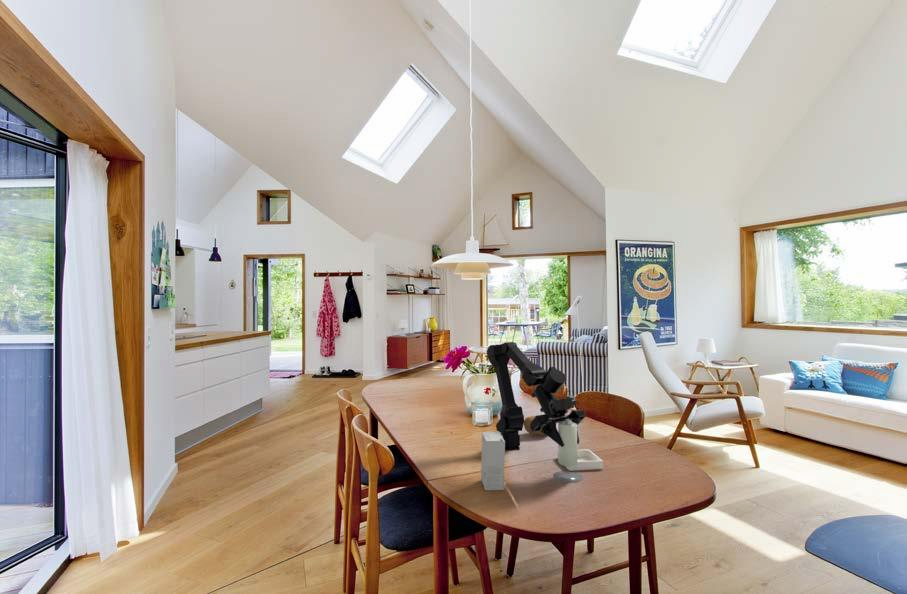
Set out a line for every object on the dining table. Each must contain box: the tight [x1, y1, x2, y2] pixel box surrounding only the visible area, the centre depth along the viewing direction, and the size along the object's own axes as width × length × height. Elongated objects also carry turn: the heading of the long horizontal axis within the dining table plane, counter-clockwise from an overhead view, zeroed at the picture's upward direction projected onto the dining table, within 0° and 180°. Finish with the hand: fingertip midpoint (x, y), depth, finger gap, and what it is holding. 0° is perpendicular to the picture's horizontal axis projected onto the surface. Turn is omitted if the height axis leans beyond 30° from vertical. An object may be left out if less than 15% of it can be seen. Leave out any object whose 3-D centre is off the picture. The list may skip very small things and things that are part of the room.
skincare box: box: [480, 431, 506, 491], centre depth 133 cm, size 8×6×15 cm
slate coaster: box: [552, 470, 584, 484], centre depth 138 cm, size 9×9×1 cm
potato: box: [523, 415, 546, 437], centre depth 183 cm, size 10×14×8 cm
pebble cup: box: [557, 419, 578, 467], centre depth 138 cm, size 6×6×14 cm
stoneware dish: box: [556, 448, 604, 472], centre depth 149 cm, size 11×11×3 cm
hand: (570, 444), depth 137 cm, fingers closed on pebble cup, 6 cm apart
